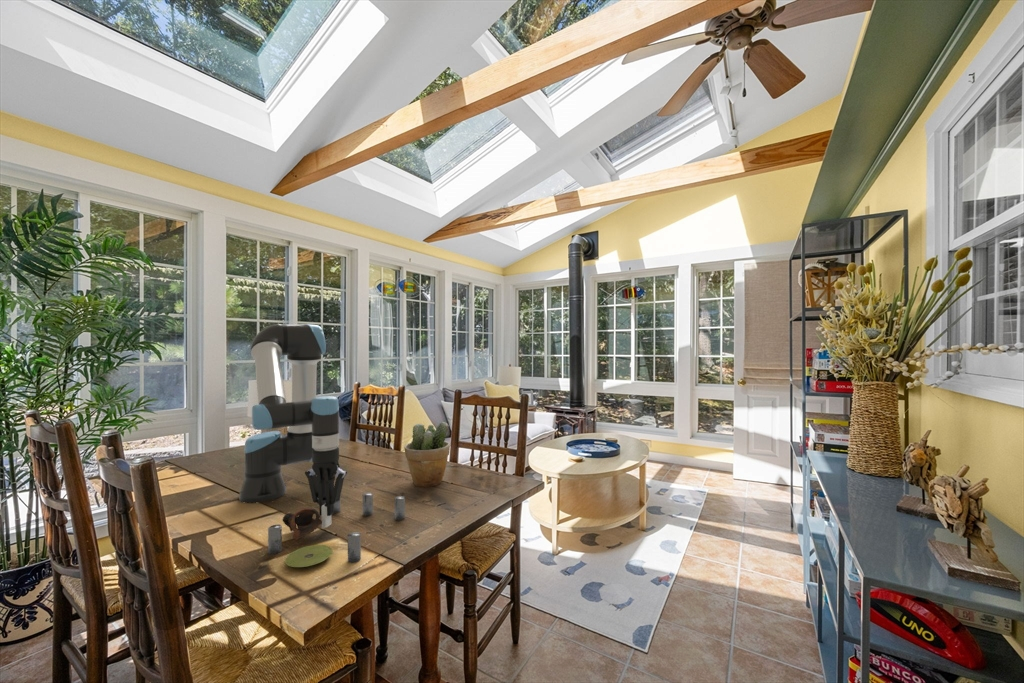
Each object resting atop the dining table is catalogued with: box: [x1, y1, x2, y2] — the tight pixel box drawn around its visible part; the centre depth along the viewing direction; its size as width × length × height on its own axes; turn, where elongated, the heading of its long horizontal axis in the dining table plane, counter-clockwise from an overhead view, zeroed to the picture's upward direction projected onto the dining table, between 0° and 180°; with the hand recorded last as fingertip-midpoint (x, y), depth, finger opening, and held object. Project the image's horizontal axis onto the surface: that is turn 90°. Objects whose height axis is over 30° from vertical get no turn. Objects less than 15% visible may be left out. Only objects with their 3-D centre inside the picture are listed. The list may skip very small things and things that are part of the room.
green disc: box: [284, 544, 334, 568], centre depth 109 cm, size 11×11×2 cm
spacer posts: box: [267, 491, 406, 564], centre depth 125 cm, size 27×30×7 cm
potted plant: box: [403, 421, 451, 488], centre depth 169 cm, size 18×19×25 cm
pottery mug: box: [282, 507, 322, 541], centre depth 124 cm, size 12×9×8 cm
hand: (326, 525), depth 126 cm, fingers closed
